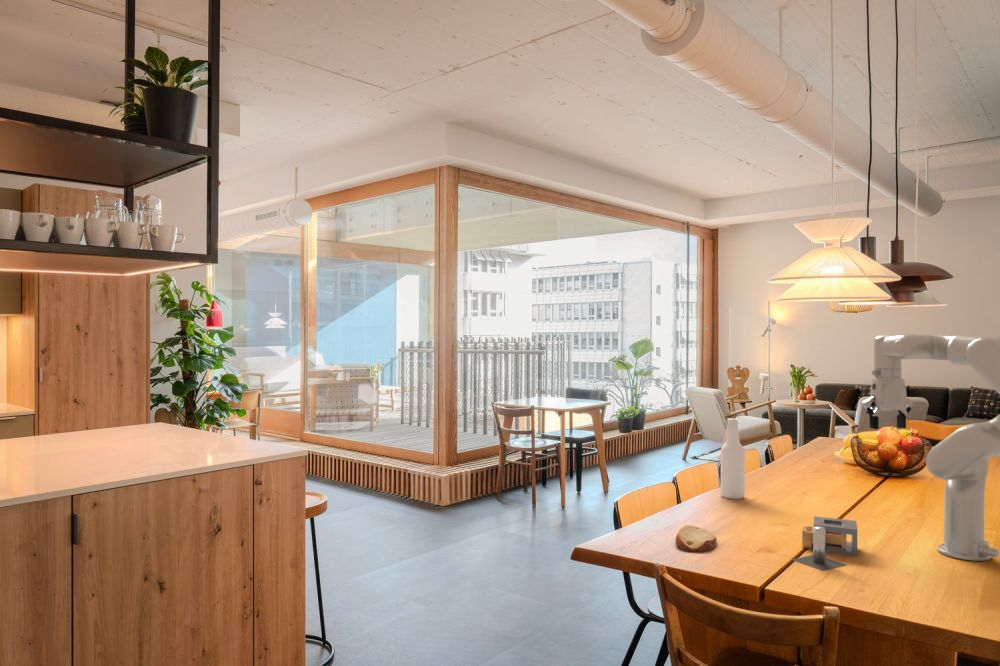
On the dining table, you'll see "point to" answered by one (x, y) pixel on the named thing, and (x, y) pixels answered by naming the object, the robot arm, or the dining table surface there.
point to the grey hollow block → (833, 535)
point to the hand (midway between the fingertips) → (887, 428)
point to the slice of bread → (695, 539)
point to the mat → (823, 567)
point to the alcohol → (732, 463)
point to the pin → (819, 545)
